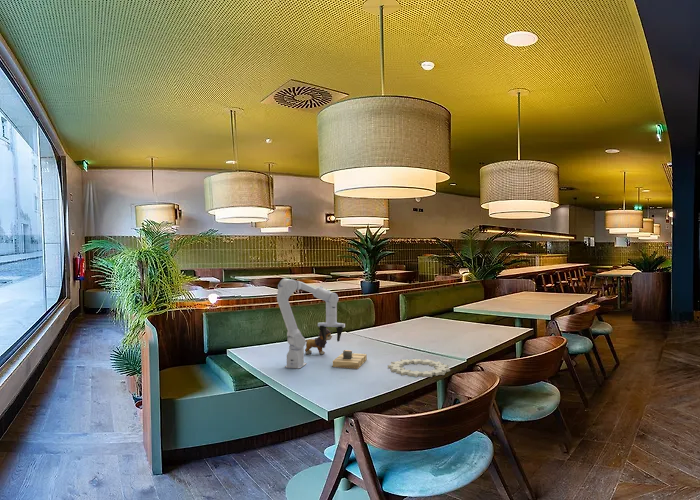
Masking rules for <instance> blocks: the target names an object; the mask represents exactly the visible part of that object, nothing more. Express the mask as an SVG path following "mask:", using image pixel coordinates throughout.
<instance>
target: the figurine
mask: <svg viewBox="0 0 700 500" xmlns="http://www.w3.org/2000/svg"><path fill="white" fill-rule="evenodd" d="M333 331H334V330H333V329H332V330H330V329H329V328H328V327H326V340H325V341H323V337H322V334H321V331H320V330H319V332H318V335H317V337H315V338H314V339H312V338H310V339H309V338H308V339H305V341H306V343H305V347H306V348H304V352H305V354H306V355H310V354H311V353H313V351H312V350H311V349H313V348H317V350H318V351H317V352H318V353H319V355H325V354H326V352H325V351H324V350H323V349H325V348H326V344H327V341H330V340H331V339H332V338H333V336H332V332H333Z"/></svg>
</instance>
